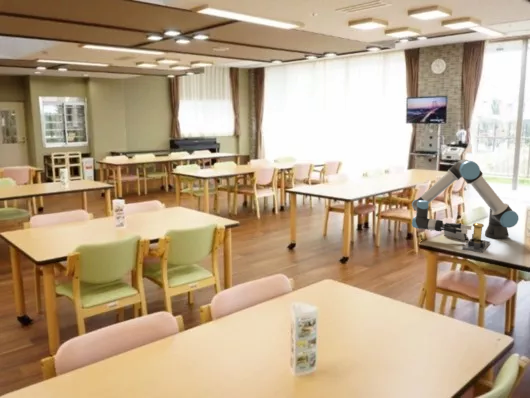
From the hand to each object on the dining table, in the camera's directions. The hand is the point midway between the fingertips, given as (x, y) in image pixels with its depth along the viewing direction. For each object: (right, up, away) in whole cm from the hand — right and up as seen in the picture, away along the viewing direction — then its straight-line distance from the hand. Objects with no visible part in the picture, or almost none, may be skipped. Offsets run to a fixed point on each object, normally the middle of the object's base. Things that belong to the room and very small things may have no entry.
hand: (469, 229), depth 316 cm
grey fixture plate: (+4, -11, -1) cm, 12 cm away
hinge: (-1, -7, +22) cm, 23 cm away
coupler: (+4, -10, -1) cm, 10 cm away
